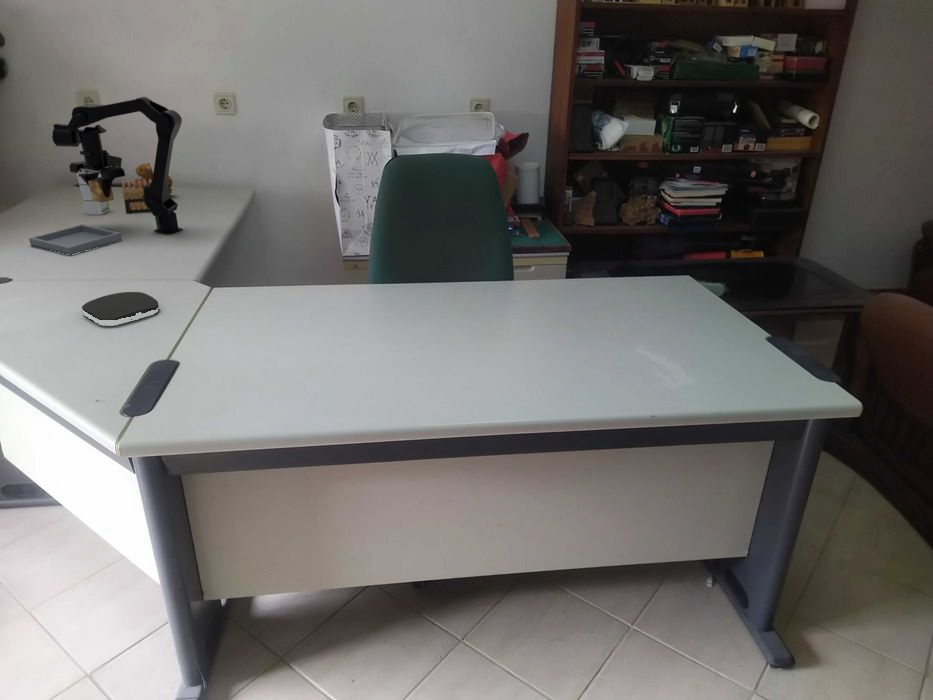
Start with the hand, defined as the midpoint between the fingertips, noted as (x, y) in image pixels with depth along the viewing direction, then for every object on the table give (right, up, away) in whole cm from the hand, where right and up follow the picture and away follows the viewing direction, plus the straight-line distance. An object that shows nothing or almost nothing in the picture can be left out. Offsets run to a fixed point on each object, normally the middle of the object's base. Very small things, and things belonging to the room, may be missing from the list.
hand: (102, 196), depth 215 cm
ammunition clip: (0, 0, +26) cm, 26 cm away
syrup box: (-14, -1, +23) cm, 27 cm away
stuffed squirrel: (-4, +10, +45) cm, 46 cm away
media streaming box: (+34, -42, -53) cm, 76 cm away
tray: (-3, -17, -9) cm, 19 cm away
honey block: (0, -1, +1) cm, 1 cm away
